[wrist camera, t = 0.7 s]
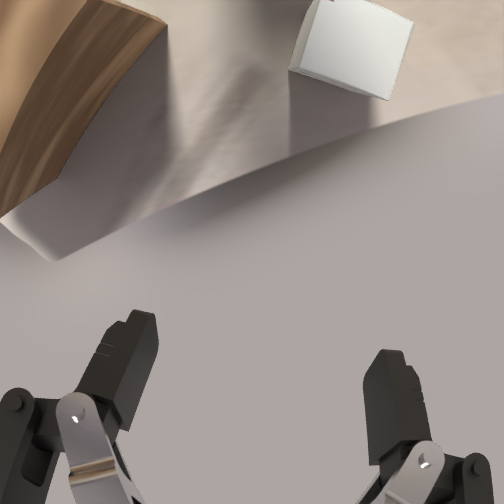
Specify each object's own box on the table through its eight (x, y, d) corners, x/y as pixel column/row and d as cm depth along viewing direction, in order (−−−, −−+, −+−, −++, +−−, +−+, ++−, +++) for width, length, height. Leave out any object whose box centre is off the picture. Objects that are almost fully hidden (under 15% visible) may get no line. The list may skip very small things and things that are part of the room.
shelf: (-6, 117, 33) (-91, 154, 18) (85, -33, 23) (-5, -61, 8) (56, 178, 38) (-26, 238, 23) (167, 24, 28) (90, -4, 13)
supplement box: (285, 70, 30) (294, 67, 20) (305, 11, 27) (323, -20, 16) (350, 93, 31) (389, 104, 20) (370, 35, 27) (417, 21, 16)
